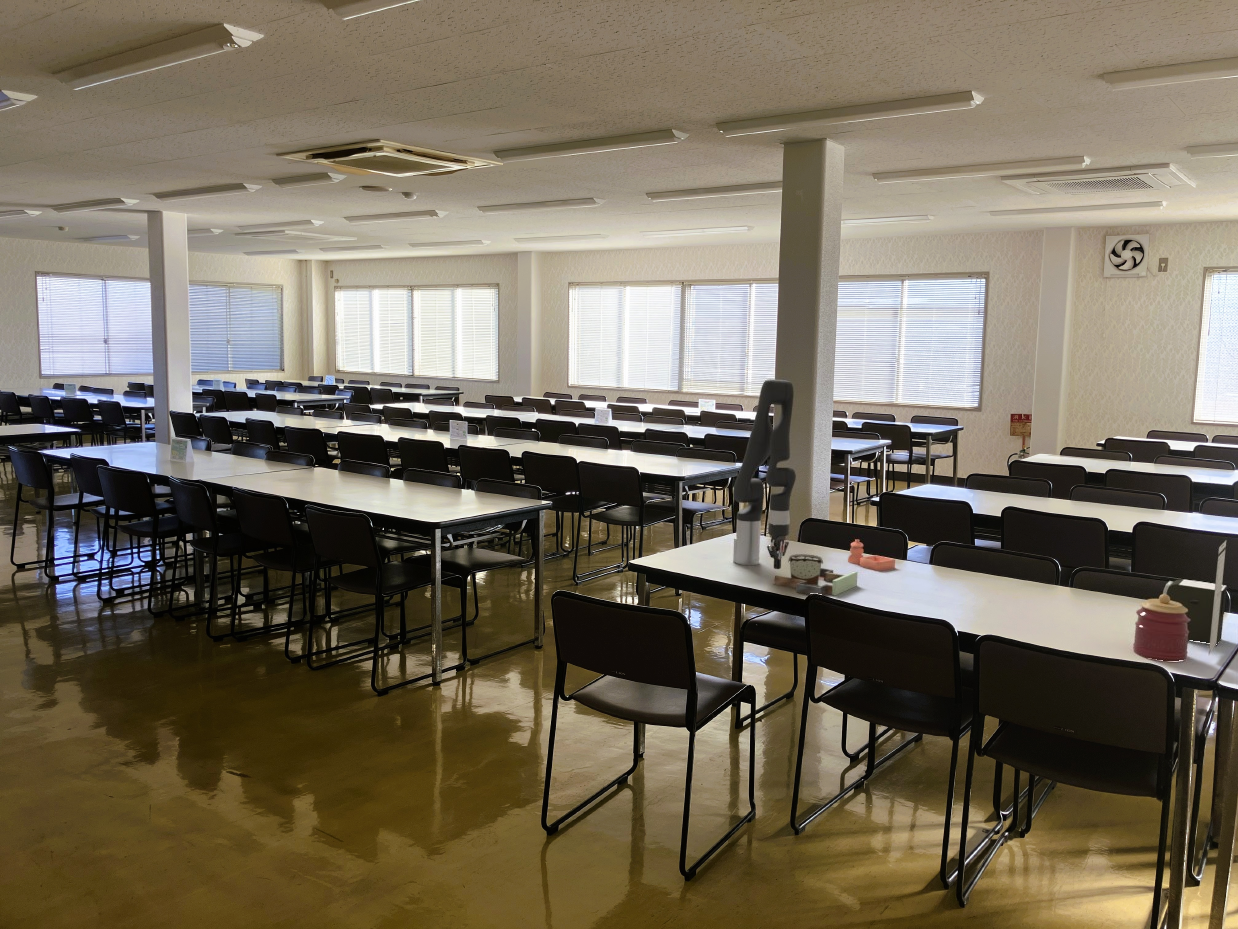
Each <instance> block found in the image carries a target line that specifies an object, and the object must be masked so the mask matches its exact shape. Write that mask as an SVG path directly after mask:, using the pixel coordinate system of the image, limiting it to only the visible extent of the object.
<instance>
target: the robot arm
mask: <svg viewBox="0 0 1238 929" xmlns="http://www.w3.org/2000/svg"><path fill="white" fill-rule="evenodd" d="M794 392H795V391H794V386H793V383H792V382H791V381H790V380H784V379H775V378H774V379H773V378H768V379H766V380H764V381H763V383H762V385H761V388H760V392H759V398H758V404H757V408H756V414H755V417H754V422H753V425H752V429H751V431H750V434H749V438H748V440H747V441H748V442H747V446H746V450H745V454H744V458H743V460H742V464H741V466H740V469H739V471H738V474H737V476H736V478H735V482H734V485H733V489H732V490H733V491H732V492H733V493H732V494H733V498H734V500H735V501H736V502H737V503H741V504H744V503H745V504H746V503H747V505H746V506H745V507H744V508H742V509H741V510H739V511H737V513H736V532H735V535H736V536H735V537H734V538H733V554H732V555H733V556H732V557H733V558H732V559H733V560H732V563H736V564H737V565H741V566H757V565H759V564H760V550H761V523H762V521H761V518H762V515H763V510H764V499H765V488H764V487H765V485H764V483H763V481H762V480H761V479H760V478H753V477H754V475H755V473H756V471H757V470H758V469H759V468H760V467H761V466H762V465H763V464H764V462H766V461H767V459H768V458H769V462H768V468H767V470H766V475H765V481H766V483H767V485H768V486H769V487H771V488H777V487H778V488H779V487H780V488H783V489H782V490H781V491H778V492H774V493H772V494H771V495H770V498H769V512H768V530H767V533H768V535H769V536H770V543H769V544H770V545H767V547H766V549H767V551H768V553H769V557H770V558H772V559H773V569H774V570H780V569H781V568H782V559H783V557H785V555H786V552H787V550H788V547H789V541H786V537H787V536H789V535H790V519H791V518H790V517H791V516H790V504H791V503H790V499H791V495H792V492H793V489H794V487H795V483H796V479H797V475H796V471H795V469H793V468H792V467H777V466H778V464H779V463H783V462H786V461H788V460H790V458H791V452H790V451H791V450H790V449H791V448H790V447H791V445H790V444H791V443H790V435H791V434H790V432H791V430H790V429H791V421H792V416H793V415H792V413H793V405H794V394H795V393H794ZM772 405H774V406H780V408H781V409H780V416H779V419H778V421H777V422H776V425H775V426H774V428H773V426H772V423H771V420H770V408H771V406H772Z"/></svg>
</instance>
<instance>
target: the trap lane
mask: <svg viewBox="0 0 1238 929" xmlns="http://www.w3.org/2000/svg"><path fill="white" fill-rule="evenodd" d="M773 581H774V582H773V583H774V585H775V584H778V585H777V586H781V585H783V586H782V587H786V586H788V587H787V588H792V587H793V588H794V589H796V593H797V592H799V593H798V594H803V593H805V594H804V595H808V594H810V593H818V594H822V596H824V595H826V594H827V595H830V596H831V595H832V596H837V595H839V594H841V593H844V592H846V591H847V590H850V589H852V588H855V587H857V586H858V571H852V572H850V573H847V574H840V573H839V574H838V573H835V572H834V569H829V568H824V567H821V569H820V576H819V581H825V582H829V583H830V582H831V583H832V584H823V585H821V586H816V585H807V581H805V580H799V579H793V578H791V577H789V576H788V577H787V576H781V575H774V580H773ZM793 588H792V589H793Z"/></svg>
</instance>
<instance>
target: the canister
mask: <svg viewBox="0 0 1238 929" xmlns="http://www.w3.org/2000/svg"><path fill="white" fill-rule="evenodd" d="M1139 604H1140V607H1141V608H1140V609H1137V610H1136V611H1135V613H1136V615H1137V620H1136V622H1135V624H1134V625H1135V628H1134V629H1135V630H1134V642H1133V645H1132V648H1133V652H1134V654H1136V655H1138V656H1140V657H1142V658H1146V659H1148V658H1152V659H1157V660H1163V661H1179V660H1184V659H1187V657H1188V644H1189V641H1188V635H1189V629H1188V622H1189V621H1190V620H1191V618H1190V617H1189V616H1187V615H1186V612H1187V611H1188V609H1187V608H1185V607H1184V606H1183V605H1182V604H1180V603H1178V602H1175V601H1170V597H1169V596H1168V595H1166V594H1163V593H1162V594H1160V595H1159V597H1158V598H1148V599H1146V600H1145V601H1142V602H1140V603H1139ZM1152 659H1151V660H1152Z"/></svg>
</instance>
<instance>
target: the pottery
mask: <svg viewBox="0 0 1238 929" xmlns="http://www.w3.org/2000/svg"><path fill="white" fill-rule="evenodd" d="M854 540H855V541H853V542H851V543H850V549H849V552H850V555H849V556H848V557H847V562H848V563H850V564H855V565H856V564H857V565H858V564H859V567H861V568H866V569H871V570H873V571H878V572H882V571H886V570H891V569H895V568H896V559H894V558H892V557H891V558H890V557H886V556H880V555H877V554H876V555H875V554H874V555H869V556H865V557H864V555H862V554H863V553H864V549H863V548H864V544H863V542H860V539H854Z"/></svg>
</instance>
